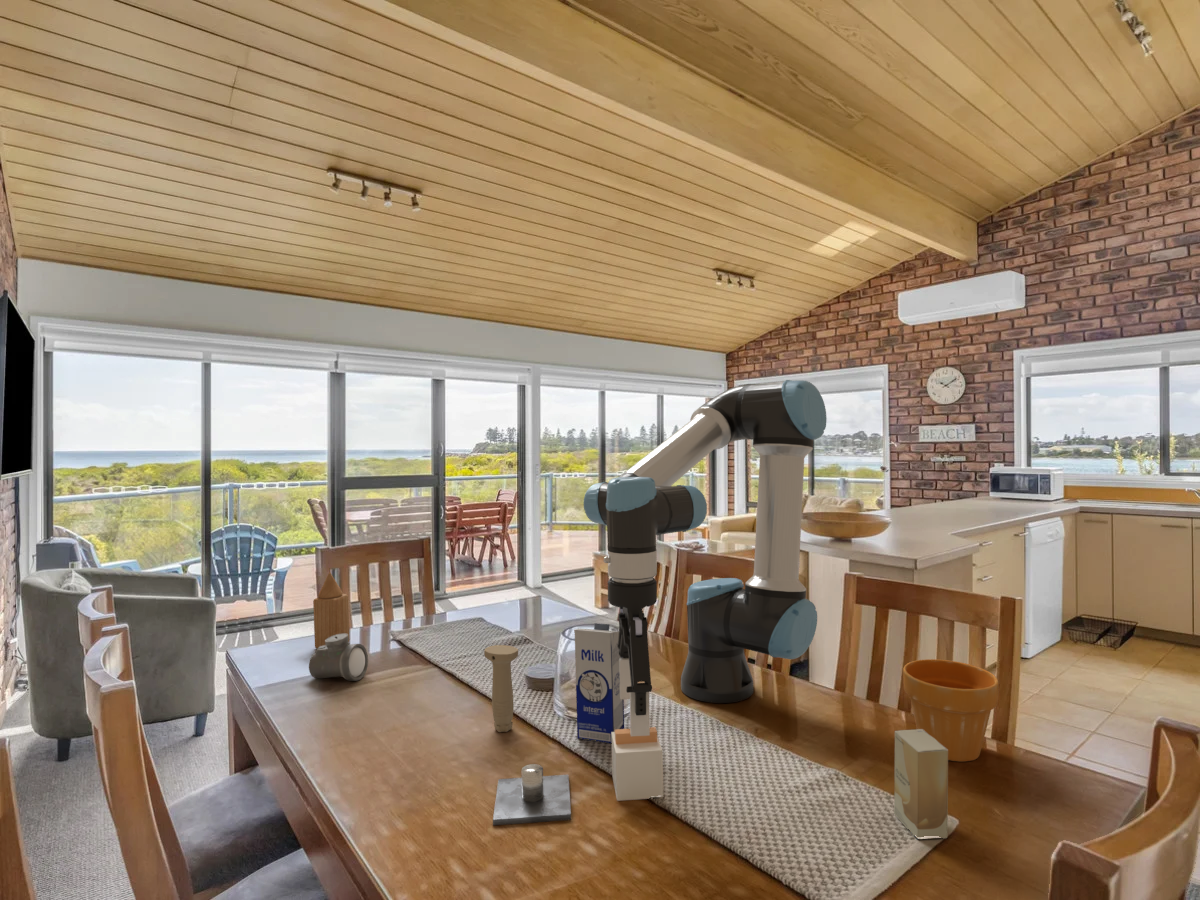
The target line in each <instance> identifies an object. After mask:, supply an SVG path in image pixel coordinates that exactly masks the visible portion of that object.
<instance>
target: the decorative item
mask: <svg viewBox="0 0 1200 900" xmlns="http://www.w3.org/2000/svg"><path fill="white" fill-rule="evenodd" d="M320 588H321V589H320V591H319V593H318V595H317V597H316V598H313V601H312V604H313V627H314V628H313V630H314V631H313V632H314V633H313V635H314V648H315V649H317V648H318V647H320V646H324V645H326V644H325V640H326V639H327V638H329V637H331V636H333V635H336V634H341V633H347V634H348V637H349V639H348V643H350V639H351V638H350V613H349V610H350V609H349V594H347V593H344V592H343V591H342V588H341V587H340V586H339V584H338V582H337V581H336V579H335V578H334V576H333V575H332V573H331V571H329V572H328V574H327V575H326V577H325V580H324V582H323V585H321V587H320Z"/></svg>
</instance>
